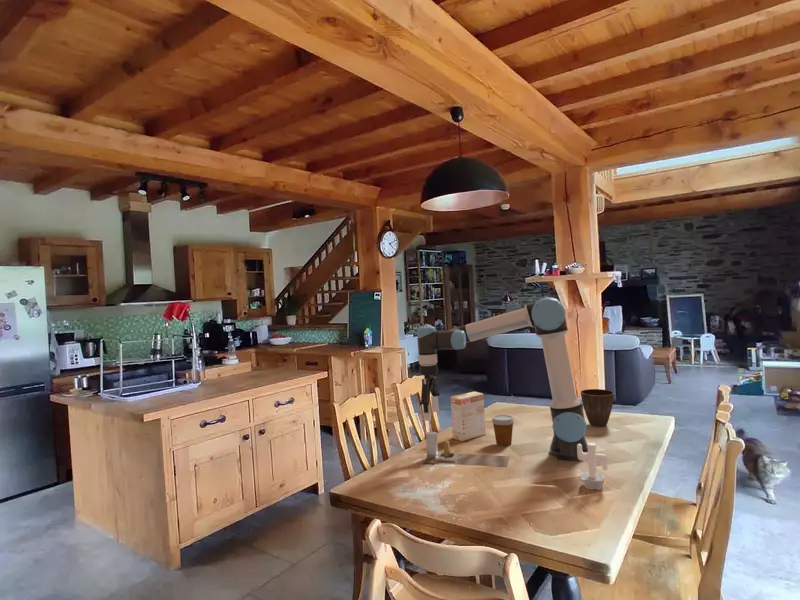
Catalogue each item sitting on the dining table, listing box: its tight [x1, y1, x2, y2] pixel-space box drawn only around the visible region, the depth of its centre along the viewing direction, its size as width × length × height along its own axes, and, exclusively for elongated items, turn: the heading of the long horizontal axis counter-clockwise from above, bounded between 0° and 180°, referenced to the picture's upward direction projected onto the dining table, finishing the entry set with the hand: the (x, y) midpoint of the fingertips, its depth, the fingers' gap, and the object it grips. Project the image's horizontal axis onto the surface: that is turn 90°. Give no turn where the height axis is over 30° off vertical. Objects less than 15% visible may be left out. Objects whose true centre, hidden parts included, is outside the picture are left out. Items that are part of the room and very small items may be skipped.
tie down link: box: [425, 431, 460, 462], centre depth 204 cm, size 12×8×10 cm
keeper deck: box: [422, 439, 510, 468], centre depth 201 cm, size 33×12×8 cm, turn 72°
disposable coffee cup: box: [491, 414, 515, 447], centre depth 218 cm, size 10×10×12 cm
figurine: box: [577, 441, 609, 491], centre depth 170 cm, size 7×9×15 cm
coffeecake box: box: [450, 391, 486, 442], centre depth 233 cm, size 15×7×20 cm, turn 123°
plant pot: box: [580, 388, 615, 428], centre depth 240 cm, size 15×15×16 cm
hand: (431, 416), depth 205 cm, fingers open, 13 cm apart
